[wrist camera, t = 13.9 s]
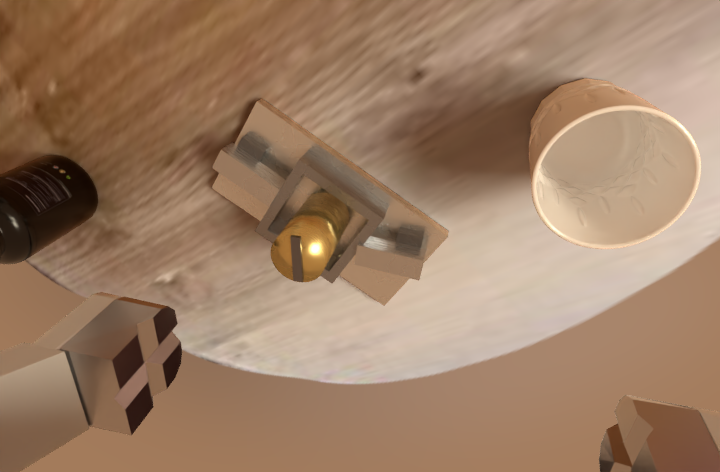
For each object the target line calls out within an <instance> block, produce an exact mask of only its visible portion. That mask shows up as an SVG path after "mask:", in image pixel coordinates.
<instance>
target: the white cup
mask: <svg viewBox="0 0 720 472" xmlns="http://www.w3.org/2000/svg"><path fill="white" fill-rule="evenodd" d="M529 166H530V177H531V190H532V198H533V202H534V205H535V208H536V210H537V213H538V214H539V216H540V218H541V219H542V221H543V222H544V223H545V225H546V226H547V227H548V228H549V229H550V230H551V231H553V232H554V233H555V234H556V235H558V236H559V237H561V238H563V239H565V240H566V241H569V242H571V243H573V244H576V245H579V246H583V247H588V248H595V249H615V248H622V247H627V246H631V245H635V244H638V243H641V242H643V241H646V240H648V239H650V238H652V237H654V236H656V235H657V234H659V233H661V232H662V231H664V230H665V229H667V228H668V227H669V226H671V225H672V224H673V223H674V222H675V221H676V220H677V219H678V218H679V217H680V216H681V215H682V214H683V213H684V211H685V210H686V209H687V207H688V206H689V204H690V203H691V201H692V199H693V197H694V195H695V193H696V191H697V188H698V184H699V180H700V174H701V160H700V155H699V151H698V148H697V145H696V143H695V141H694V139H693V137H692V136H691V134H690V133H689V132H688V130H687V129H686V128H685V127H684V126H683V125H682V124H681V123H680V122H678V121H677V120H676V119H674V118H673V117H671V116H670V115H668V114H666V113H665V112H663V111H661V110H660V109H658V108H657V107H655V106H654V105H652V104H650V103H649V102H648V101H646V100H644V99H643V98H641V97H639V96H637V95H635V94H633V93H631V92H629V91H628V90H626V89H623V88H620V87H617V86H615V85H614V84H613V83H611V82H609V81H602V80H595V79H588V78H584V79H581V80H577V81H574V82H571V83H567V84H564V85H561V86H559V87H558V88H557V89H556V90H554V91H553V92H552V93H551V94H550V95H548V96H547V97H546V98H545V99H543V100H542V101H541V103H540V105H539V107H538V108H537V110H536V112H535V114H534V116H533V118H532V120H531V125H530V140H529Z"/></svg>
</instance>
